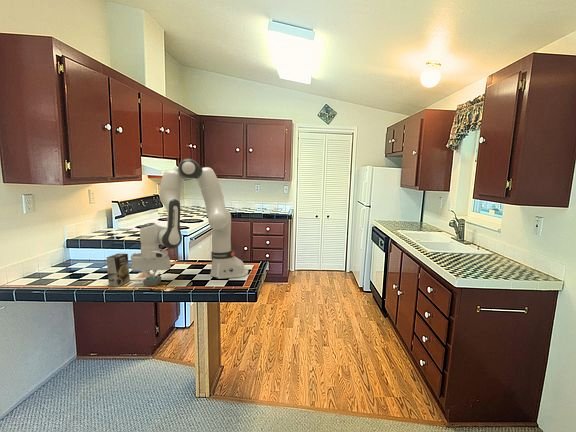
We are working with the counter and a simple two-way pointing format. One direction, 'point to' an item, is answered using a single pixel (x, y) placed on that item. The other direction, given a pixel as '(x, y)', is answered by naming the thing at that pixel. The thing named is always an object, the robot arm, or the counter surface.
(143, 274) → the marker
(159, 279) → the button housing
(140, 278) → the picture board
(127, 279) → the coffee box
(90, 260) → the counter surface
